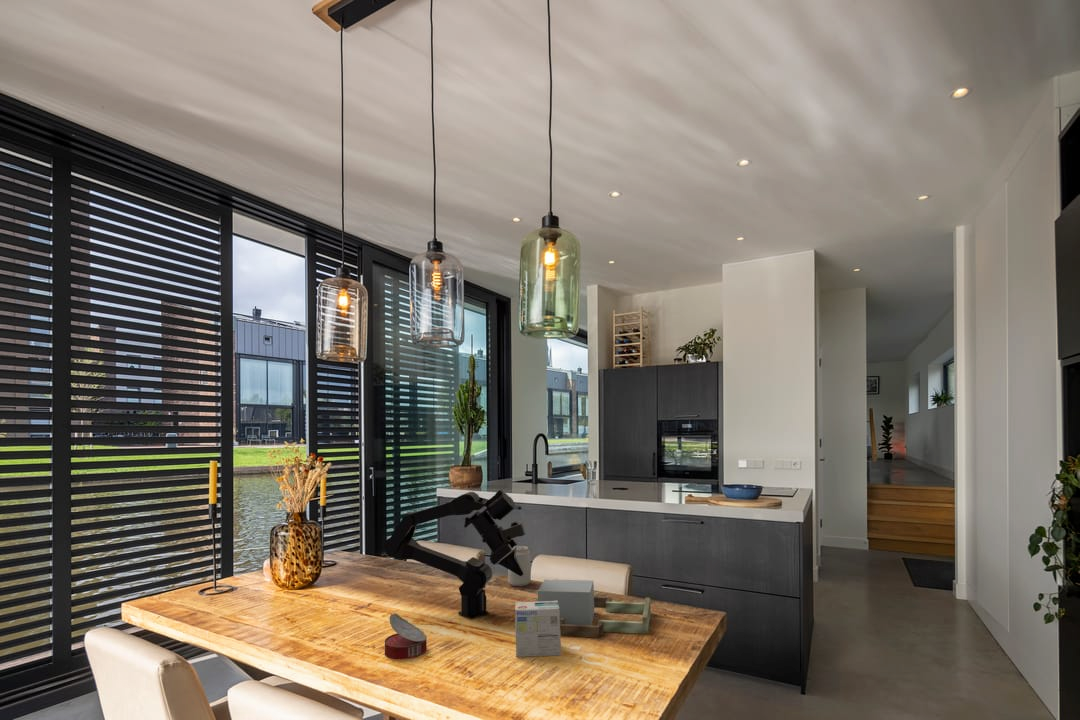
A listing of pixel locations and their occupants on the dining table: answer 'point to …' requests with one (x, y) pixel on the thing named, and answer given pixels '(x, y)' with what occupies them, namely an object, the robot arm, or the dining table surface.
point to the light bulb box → (537, 629)
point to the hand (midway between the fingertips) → (522, 575)
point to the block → (570, 599)
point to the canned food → (404, 640)
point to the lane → (611, 624)
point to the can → (524, 562)
